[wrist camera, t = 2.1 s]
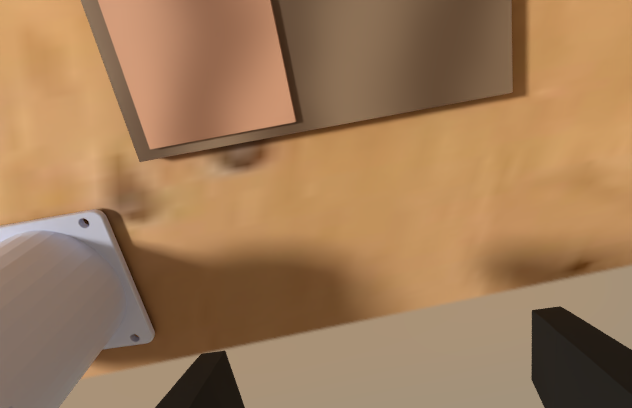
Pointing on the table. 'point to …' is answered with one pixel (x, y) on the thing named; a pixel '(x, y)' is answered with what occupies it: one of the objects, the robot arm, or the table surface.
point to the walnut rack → (291, 64)
